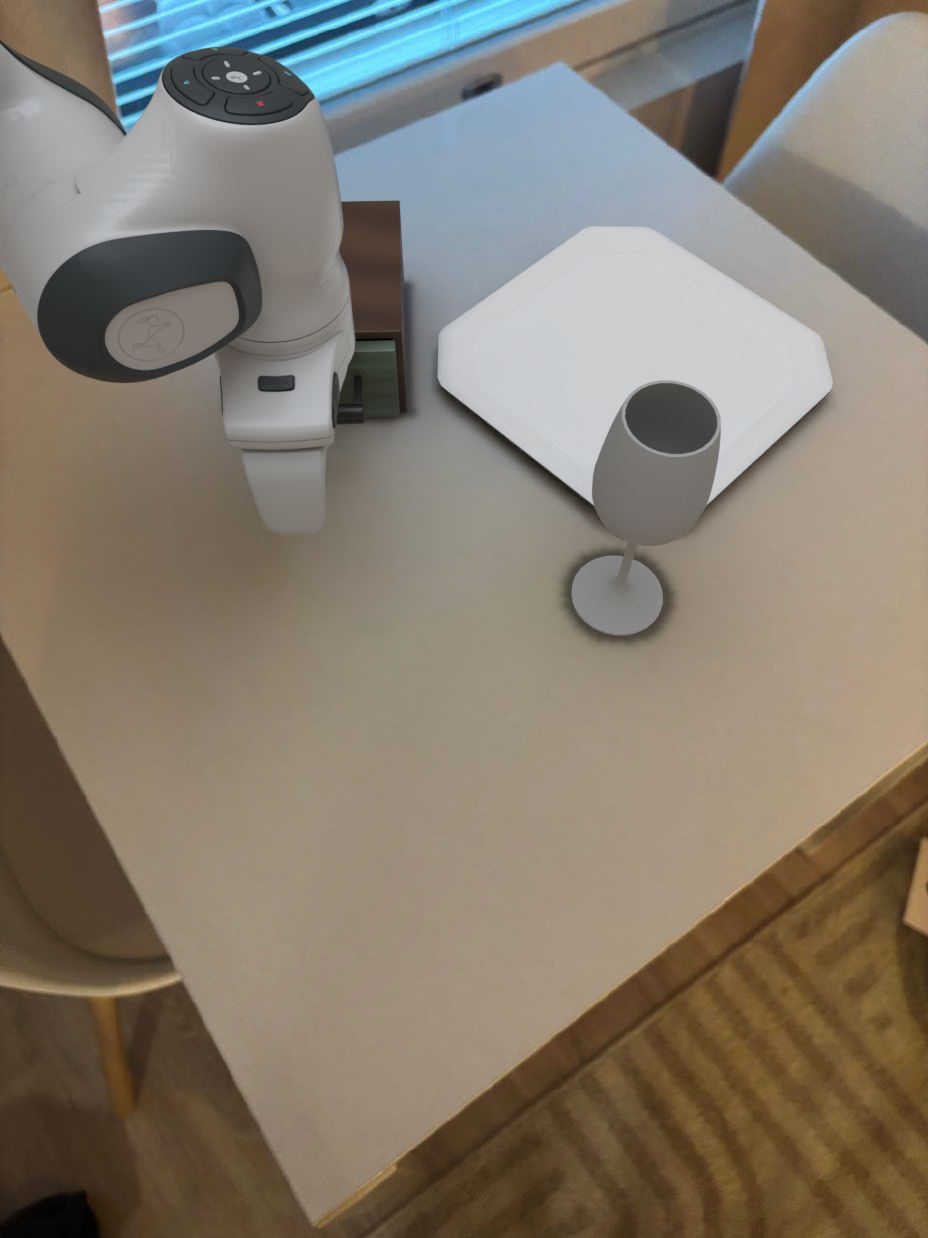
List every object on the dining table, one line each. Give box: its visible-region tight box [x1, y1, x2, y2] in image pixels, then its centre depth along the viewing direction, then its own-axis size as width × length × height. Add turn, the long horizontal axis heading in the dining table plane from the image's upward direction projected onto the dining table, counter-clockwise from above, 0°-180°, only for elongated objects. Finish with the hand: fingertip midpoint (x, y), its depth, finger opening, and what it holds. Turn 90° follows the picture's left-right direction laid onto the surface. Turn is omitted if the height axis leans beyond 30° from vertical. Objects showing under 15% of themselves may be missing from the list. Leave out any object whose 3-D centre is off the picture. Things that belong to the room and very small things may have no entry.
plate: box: [436, 225, 834, 509], centre depth 84 cm, size 29×29×2 cm
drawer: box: [336, 338, 401, 426], centre depth 80 cm, size 19×12×8 cm, turn 3°
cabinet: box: [339, 199, 408, 413], centre depth 82 cm, size 16×14×10 cm
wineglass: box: [570, 380, 721, 637], centre depth 65 cm, size 8×8×21 cm
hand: (308, 463), depth 71 cm, fingers closed
